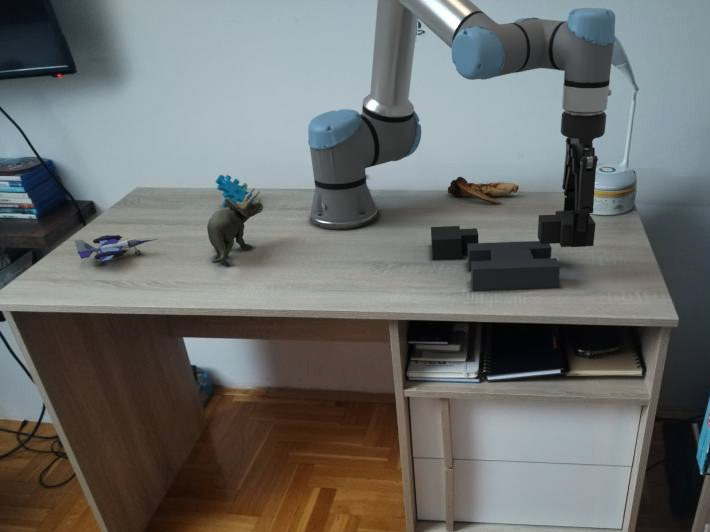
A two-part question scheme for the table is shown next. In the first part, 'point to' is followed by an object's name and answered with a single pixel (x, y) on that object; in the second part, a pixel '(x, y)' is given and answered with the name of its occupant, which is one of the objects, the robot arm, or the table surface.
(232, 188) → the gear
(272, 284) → the table surface
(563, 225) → the dark stepped block
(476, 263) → the base tile
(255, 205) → the toy dinosaur
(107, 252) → the toy airplane
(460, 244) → the dark grey t-shaped block
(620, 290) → the table surface
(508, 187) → the bone fish hook
